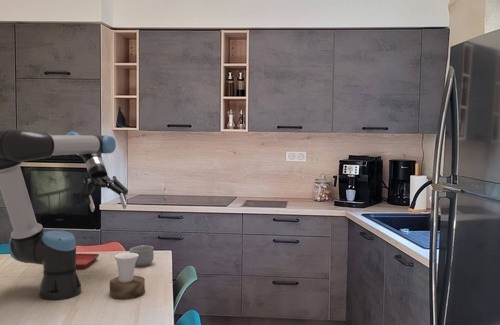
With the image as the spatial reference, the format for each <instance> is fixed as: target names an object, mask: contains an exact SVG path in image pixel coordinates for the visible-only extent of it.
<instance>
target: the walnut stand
mask: <svg viewBox="0 0 500 325" xmlns="http://www.w3.org/2000/svg"><path fill="white" fill-rule="evenodd" d="M145 282H146V281H145V278H144V277H142V276H139V275H133V281H131V282H119V276H116V277H113V278H111V279H110V280H109V297H111V298H113V299H115V300H116V299H117V300H131V299H136V298H140V297H141V296H143V295H144V294H145V293H146V288H145V287H146V285H145Z"/></svg>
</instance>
